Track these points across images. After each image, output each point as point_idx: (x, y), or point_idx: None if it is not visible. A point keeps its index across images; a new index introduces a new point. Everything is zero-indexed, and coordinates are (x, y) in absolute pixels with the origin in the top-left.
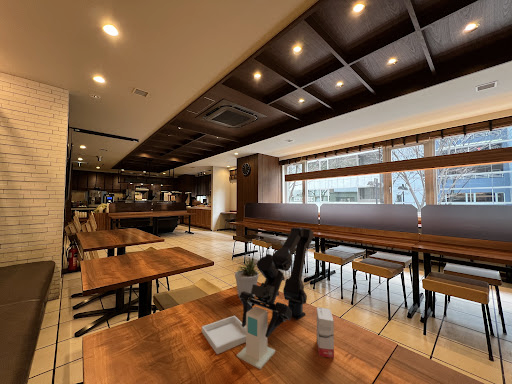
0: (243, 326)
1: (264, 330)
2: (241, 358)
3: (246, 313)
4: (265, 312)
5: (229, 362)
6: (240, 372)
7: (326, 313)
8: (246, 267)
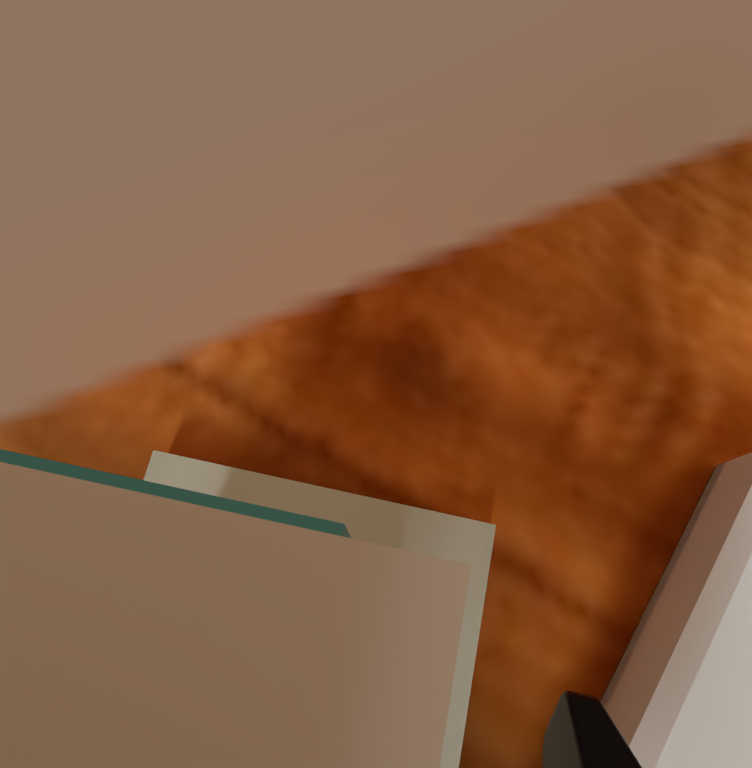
0: (552, 717)
1: None
2: (419, 508)
3: (453, 571)
4: None
5: (528, 438)
6: (354, 367)
7: None
8: None
